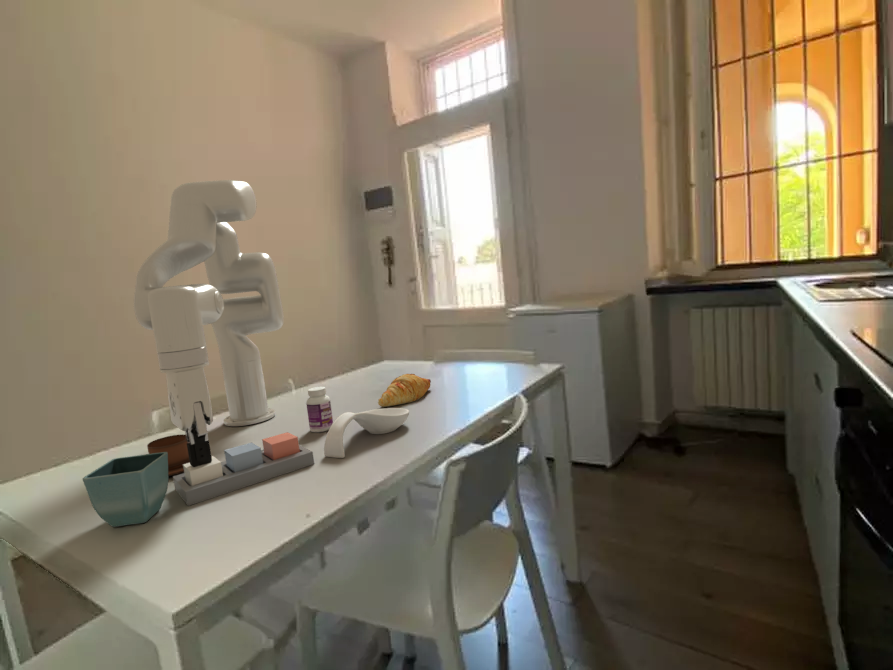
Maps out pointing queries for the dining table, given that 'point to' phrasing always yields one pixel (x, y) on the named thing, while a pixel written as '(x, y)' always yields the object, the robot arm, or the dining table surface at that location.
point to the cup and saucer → (172, 452)
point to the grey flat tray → (241, 476)
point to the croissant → (404, 390)
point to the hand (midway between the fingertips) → (201, 463)
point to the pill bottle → (319, 410)
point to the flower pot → (129, 488)
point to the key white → (202, 472)
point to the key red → (280, 445)
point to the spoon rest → (369, 420)
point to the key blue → (243, 457)
